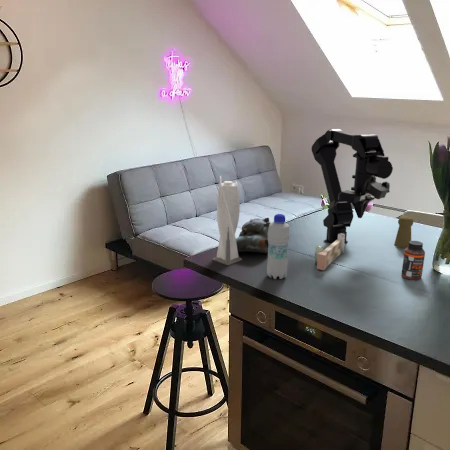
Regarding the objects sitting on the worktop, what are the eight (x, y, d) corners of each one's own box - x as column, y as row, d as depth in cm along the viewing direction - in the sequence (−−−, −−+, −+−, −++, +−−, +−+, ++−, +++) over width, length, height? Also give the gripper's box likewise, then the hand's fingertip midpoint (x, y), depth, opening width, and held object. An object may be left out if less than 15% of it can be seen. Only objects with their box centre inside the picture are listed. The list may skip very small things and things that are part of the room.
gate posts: (313, 264, 166) (314, 244, 164) (338, 251, 178) (340, 232, 176) (319, 266, 165) (321, 245, 163) (344, 253, 177) (346, 234, 174)
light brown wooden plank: (334, 252, 175) (335, 239, 174) (341, 254, 174) (342, 240, 173) (316, 268, 161) (317, 254, 160) (324, 270, 160) (325, 255, 159)
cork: (412, 249, 181) (416, 219, 178) (395, 247, 182) (398, 218, 179) (410, 243, 187) (413, 215, 183) (393, 242, 188) (396, 214, 184)
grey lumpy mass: (223, 250, 177) (229, 212, 180) (249, 258, 184) (255, 220, 186) (250, 250, 165) (257, 209, 168) (277, 258, 172) (283, 218, 174)
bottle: (289, 273, 158) (293, 212, 152) (285, 282, 152) (288, 218, 146) (268, 271, 160) (271, 210, 154) (263, 279, 154) (265, 216, 148)
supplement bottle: (411, 282, 153) (416, 247, 150) (397, 275, 158) (401, 241, 155) (425, 278, 156) (430, 244, 153) (410, 271, 161) (415, 238, 158)
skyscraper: (209, 258, 170) (209, 177, 162) (226, 252, 176) (226, 173, 167) (228, 265, 165) (229, 181, 156) (244, 258, 170) (246, 177, 162)
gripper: (368, 180, 156) (364, 228, 161) (401, 173, 168) (396, 218, 172) (339, 174, 164) (335, 220, 169) (372, 167, 176) (367, 211, 180)
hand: (359, 217), depth 172 cm, fingers closed
